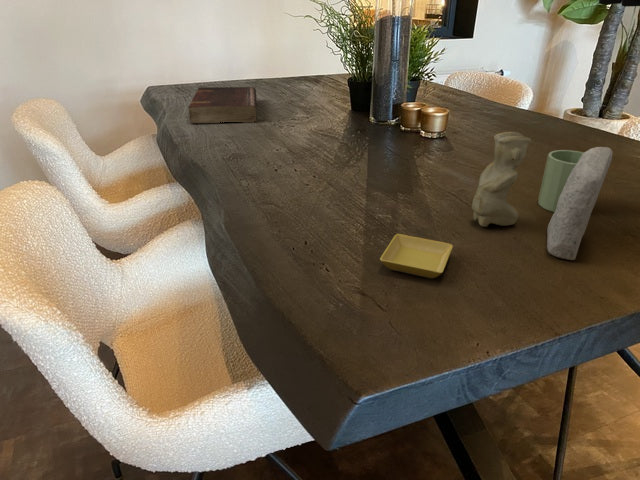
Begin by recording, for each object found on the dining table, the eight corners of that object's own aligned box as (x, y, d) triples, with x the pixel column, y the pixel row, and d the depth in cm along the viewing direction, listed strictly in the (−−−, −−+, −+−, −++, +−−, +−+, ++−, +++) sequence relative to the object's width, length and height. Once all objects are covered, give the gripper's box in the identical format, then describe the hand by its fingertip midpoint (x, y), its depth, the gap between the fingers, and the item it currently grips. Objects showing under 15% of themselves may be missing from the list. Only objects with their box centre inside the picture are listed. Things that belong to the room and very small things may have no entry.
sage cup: (578, 198, 90) (591, 151, 86) (590, 215, 84) (604, 165, 79) (534, 195, 92) (544, 148, 88) (542, 212, 85) (553, 162, 81)
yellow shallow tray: (452, 256, 72) (454, 243, 71) (440, 286, 64) (442, 272, 64) (395, 245, 75) (396, 233, 74) (378, 272, 68) (378, 259, 67)
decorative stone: (583, 266, 69) (612, 164, 62) (537, 255, 71) (561, 157, 64) (589, 235, 77) (615, 143, 70) (548, 227, 80) (570, 137, 73)
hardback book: (257, 122, 141) (256, 104, 138) (190, 124, 139) (188, 106, 137) (256, 100, 166) (255, 85, 164) (200, 102, 164) (198, 87, 162)
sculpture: (521, 229, 79) (540, 138, 72) (479, 232, 78) (494, 141, 71) (504, 214, 84) (520, 128, 77) (464, 217, 83) (477, 130, 76)
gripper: (722, -160, 56) (676, 6, 63) (658, -130, 71) (627, 2, 79) (650, -155, 57) (613, 8, 65) (602, -126, 72) (577, 3, 80)
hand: (621, 4), depth 72 cm, fingers open, 9 cm apart
